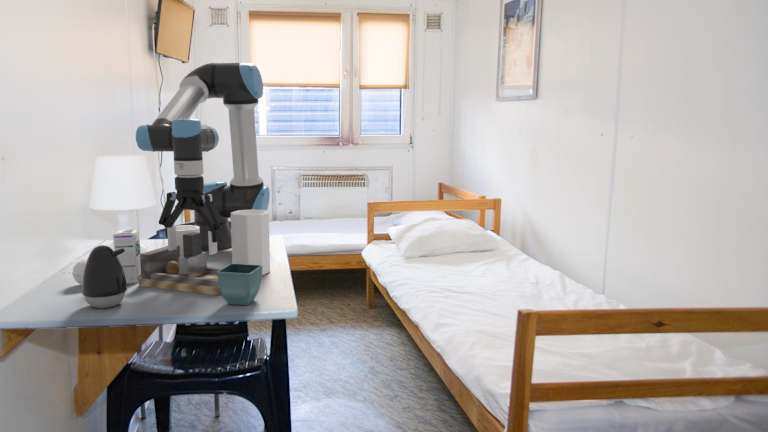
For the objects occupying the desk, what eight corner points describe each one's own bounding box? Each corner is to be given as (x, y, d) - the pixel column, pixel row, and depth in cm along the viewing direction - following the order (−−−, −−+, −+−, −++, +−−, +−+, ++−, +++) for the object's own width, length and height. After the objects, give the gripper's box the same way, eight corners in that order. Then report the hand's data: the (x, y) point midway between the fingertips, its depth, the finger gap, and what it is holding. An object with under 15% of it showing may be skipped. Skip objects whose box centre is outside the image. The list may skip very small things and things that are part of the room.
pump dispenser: (120, 311, 148) (116, 249, 146) (76, 312, 147) (71, 250, 145) (134, 298, 158) (130, 241, 156) (92, 299, 157) (88, 241, 155)
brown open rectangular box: (139, 285, 170) (137, 254, 169) (172, 273, 183) (170, 244, 182) (218, 295, 161) (217, 262, 160) (247, 282, 174) (246, 251, 173)
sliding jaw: (179, 278, 168) (177, 236, 166) (198, 271, 176) (196, 230, 174) (188, 279, 167) (186, 236, 165) (207, 272, 175) (205, 231, 173)
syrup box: (138, 283, 173) (135, 232, 170) (116, 284, 172) (112, 233, 169) (142, 278, 178) (139, 229, 176) (121, 279, 177) (118, 229, 175)
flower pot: (251, 308, 150) (250, 273, 149) (217, 306, 152) (216, 271, 150) (264, 298, 159) (263, 264, 158) (231, 296, 160) (230, 263, 159)
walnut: (171, 272, 177) (170, 258, 176) (182, 273, 175) (182, 260, 175) (162, 275, 173) (161, 261, 172) (173, 277, 172) (173, 263, 171)
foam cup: (191, 274, 183) (189, 231, 181) (163, 272, 185) (161, 230, 183) (206, 266, 192) (205, 225, 190) (179, 264, 194) (177, 224, 192)
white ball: (105, 280, 175) (103, 255, 174) (99, 287, 168) (97, 261, 167) (67, 282, 173) (65, 257, 172) (59, 289, 166) (57, 263, 165)
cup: (267, 277, 180) (266, 214, 177) (229, 277, 179) (227, 215, 176) (272, 267, 191) (270, 209, 188) (235, 268, 190) (233, 209, 187)
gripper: (142, 175, 168) (147, 250, 172) (219, 179, 160) (222, 258, 163) (161, 172, 175) (165, 245, 178) (235, 176, 167) (238, 252, 170)
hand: (192, 251), depth 171 cm, fingers open, 13 cm apart
